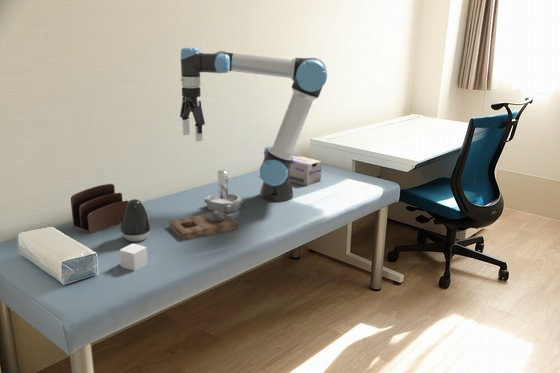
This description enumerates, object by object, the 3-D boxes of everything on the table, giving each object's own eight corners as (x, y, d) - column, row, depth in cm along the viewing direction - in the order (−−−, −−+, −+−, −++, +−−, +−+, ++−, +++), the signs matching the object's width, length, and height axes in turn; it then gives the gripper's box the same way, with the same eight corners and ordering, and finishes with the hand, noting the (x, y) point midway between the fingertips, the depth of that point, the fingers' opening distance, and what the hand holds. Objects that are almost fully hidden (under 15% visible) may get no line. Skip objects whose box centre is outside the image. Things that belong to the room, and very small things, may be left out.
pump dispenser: (122, 246, 183) (118, 205, 178) (121, 234, 192) (119, 195, 187) (151, 243, 185) (149, 203, 181) (150, 232, 195) (148, 194, 190)
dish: (200, 208, 222) (200, 197, 220) (225, 201, 231) (225, 190, 230) (222, 217, 212) (222, 205, 211) (247, 209, 221) (247, 198, 220)
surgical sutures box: (320, 181, 261) (321, 161, 258) (306, 186, 254) (307, 165, 251) (283, 171, 278) (284, 152, 274) (270, 175, 270) (270, 155, 267)
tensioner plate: (221, 218, 210) (221, 203, 208) (237, 229, 199) (237, 214, 197) (169, 228, 199) (168, 213, 197) (183, 241, 188) (182, 225, 186)
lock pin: (225, 195, 223) (224, 169, 219) (229, 198, 219) (228, 171, 216) (217, 197, 221) (216, 170, 217) (221, 199, 217) (219, 173, 214)
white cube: (133, 259, 173) (132, 243, 171) (147, 264, 170) (146, 247, 169) (120, 266, 168) (119, 249, 166) (134, 271, 165) (133, 253, 163)
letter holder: (72, 228, 197) (69, 193, 193) (115, 213, 213) (112, 180, 209) (89, 234, 192) (86, 198, 188) (131, 219, 208) (129, 185, 203)
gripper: (171, 83, 221) (173, 133, 227) (194, 91, 201) (196, 144, 207) (187, 83, 224) (189, 131, 231) (212, 90, 204) (213, 142, 211)
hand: (192, 137), depth 219 cm, fingers open, 13 cm apart
